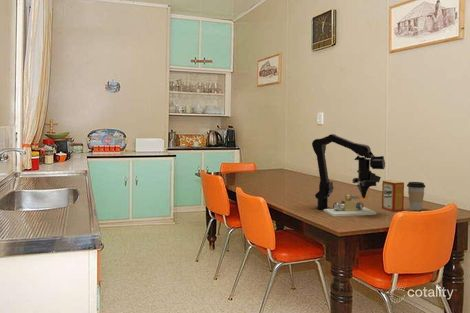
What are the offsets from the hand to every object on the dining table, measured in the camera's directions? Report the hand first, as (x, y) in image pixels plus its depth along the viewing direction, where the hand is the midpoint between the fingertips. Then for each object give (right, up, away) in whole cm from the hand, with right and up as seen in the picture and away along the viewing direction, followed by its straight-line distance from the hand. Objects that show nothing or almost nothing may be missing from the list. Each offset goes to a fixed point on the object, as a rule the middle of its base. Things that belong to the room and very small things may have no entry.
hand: (363, 198), depth 216 cm
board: (-7, -8, +2) cm, 11 cm away
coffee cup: (+31, -8, +9) cm, 34 cm away
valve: (-7, -7, +4) cm, 11 cm away
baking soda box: (+19, -8, +10) cm, 23 cm away
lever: (-3, -1, +2) cm, 4 cm away
